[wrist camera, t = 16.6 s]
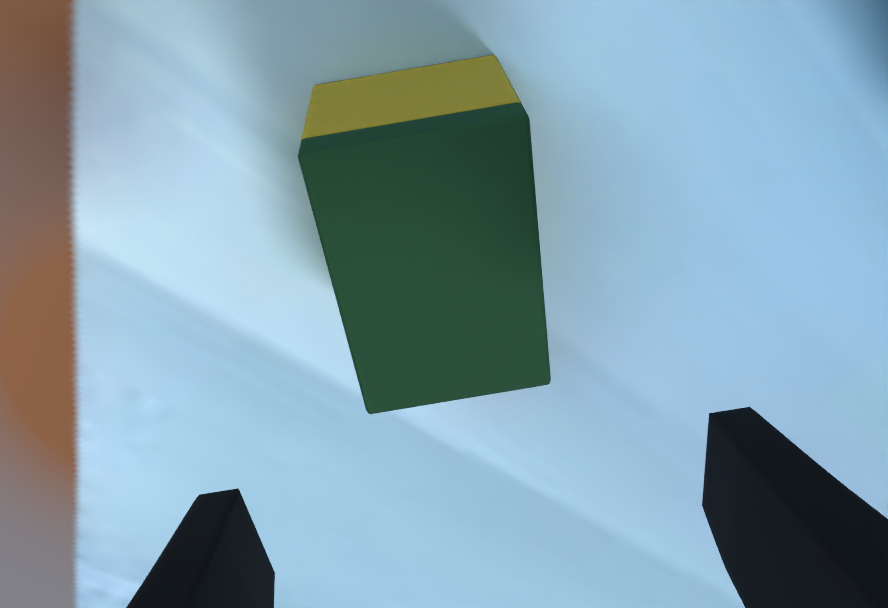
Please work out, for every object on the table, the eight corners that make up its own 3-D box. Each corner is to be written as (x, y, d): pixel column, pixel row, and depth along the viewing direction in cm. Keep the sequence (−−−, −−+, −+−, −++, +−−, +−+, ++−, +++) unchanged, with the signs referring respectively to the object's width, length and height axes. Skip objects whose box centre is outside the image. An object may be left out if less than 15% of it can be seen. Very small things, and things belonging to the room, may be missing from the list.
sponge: (495, 53, 16) (529, 114, 12) (520, 287, 19) (551, 385, 16) (311, 84, 16) (296, 154, 12) (367, 312, 19) (366, 416, 16)
